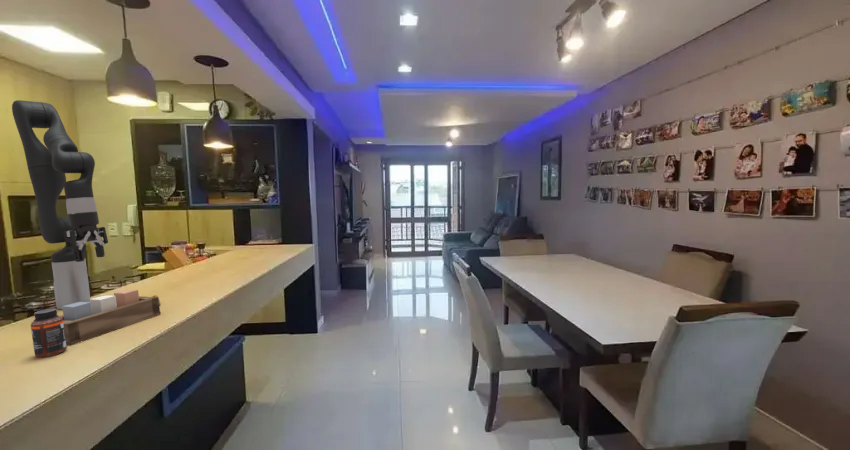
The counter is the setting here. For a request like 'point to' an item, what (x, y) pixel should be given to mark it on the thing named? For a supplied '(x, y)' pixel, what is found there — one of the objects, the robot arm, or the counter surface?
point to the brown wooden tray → (110, 320)
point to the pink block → (126, 297)
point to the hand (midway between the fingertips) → (90, 259)
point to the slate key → (77, 311)
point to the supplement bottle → (48, 333)
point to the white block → (103, 304)
